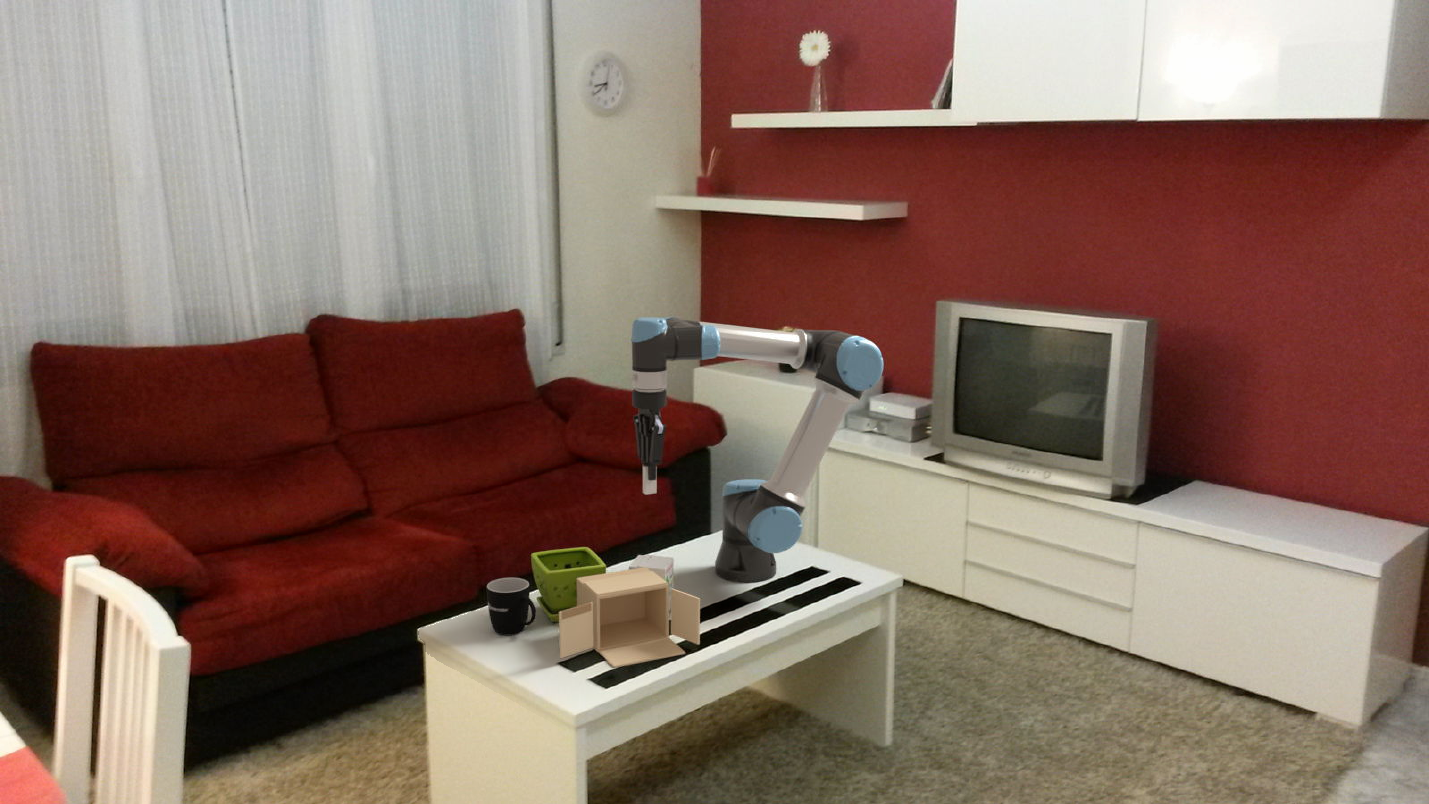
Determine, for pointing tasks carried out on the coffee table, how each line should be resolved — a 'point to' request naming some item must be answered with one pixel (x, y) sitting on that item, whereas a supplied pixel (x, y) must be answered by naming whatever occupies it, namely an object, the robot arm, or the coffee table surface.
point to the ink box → (657, 568)
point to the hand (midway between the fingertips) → (649, 493)
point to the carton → (637, 616)
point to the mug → (509, 605)
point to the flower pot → (562, 577)
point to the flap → (576, 629)
